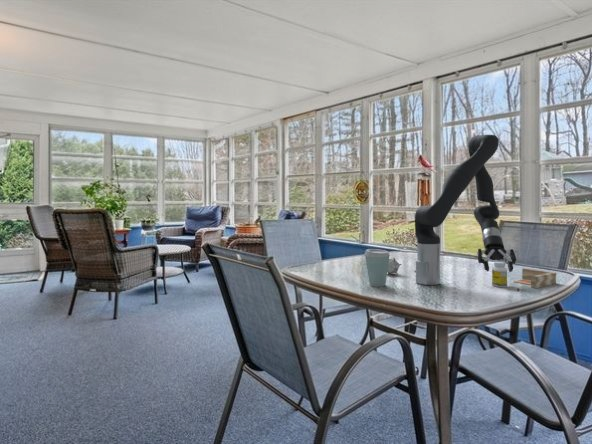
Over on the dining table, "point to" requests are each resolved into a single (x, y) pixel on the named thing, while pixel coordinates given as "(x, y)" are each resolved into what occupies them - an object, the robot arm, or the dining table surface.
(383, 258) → the disposable coffee cup
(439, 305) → the dining table surface
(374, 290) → the dining table surface
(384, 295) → the dining table surface
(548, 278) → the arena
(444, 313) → the dining table surface
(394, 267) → the grey angular lump
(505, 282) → the supplement bottle
